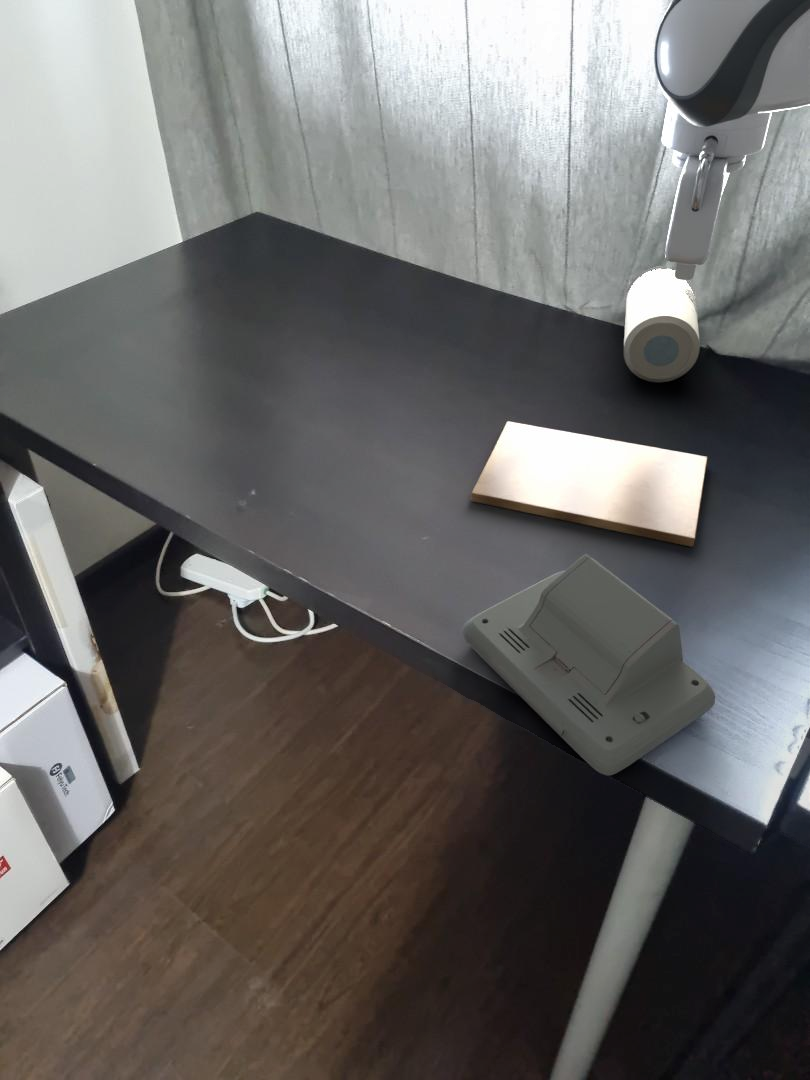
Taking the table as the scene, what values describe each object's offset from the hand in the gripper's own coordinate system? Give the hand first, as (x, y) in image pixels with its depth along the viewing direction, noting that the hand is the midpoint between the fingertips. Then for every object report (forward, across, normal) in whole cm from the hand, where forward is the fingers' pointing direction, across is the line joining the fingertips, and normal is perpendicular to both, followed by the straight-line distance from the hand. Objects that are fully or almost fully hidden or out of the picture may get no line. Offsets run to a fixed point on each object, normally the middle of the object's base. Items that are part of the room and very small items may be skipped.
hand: (684, 274), depth 82 cm
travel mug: (+10, +2, +1) cm, 10 cm away
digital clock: (+10, -39, -2) cm, 40 cm away
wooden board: (+14, -19, +4) cm, 24 cm away
